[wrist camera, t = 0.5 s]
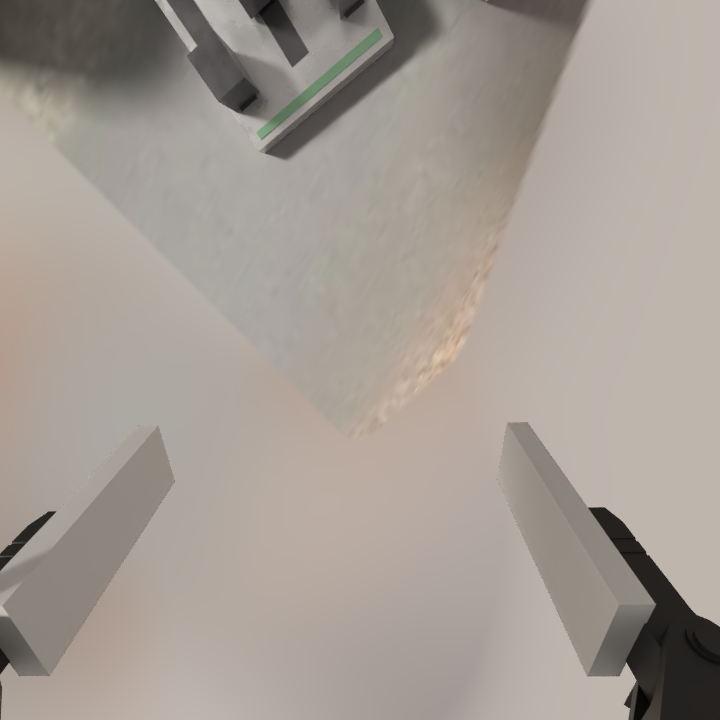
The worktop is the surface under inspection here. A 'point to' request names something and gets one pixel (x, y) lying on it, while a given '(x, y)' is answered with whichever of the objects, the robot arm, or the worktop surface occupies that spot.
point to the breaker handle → (253, 6)
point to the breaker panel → (278, 55)
